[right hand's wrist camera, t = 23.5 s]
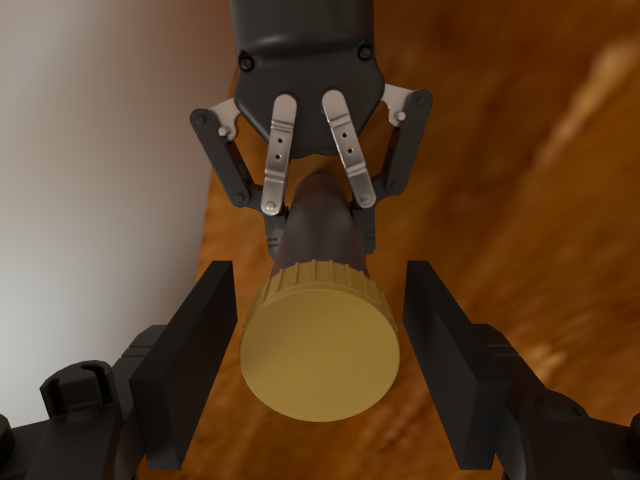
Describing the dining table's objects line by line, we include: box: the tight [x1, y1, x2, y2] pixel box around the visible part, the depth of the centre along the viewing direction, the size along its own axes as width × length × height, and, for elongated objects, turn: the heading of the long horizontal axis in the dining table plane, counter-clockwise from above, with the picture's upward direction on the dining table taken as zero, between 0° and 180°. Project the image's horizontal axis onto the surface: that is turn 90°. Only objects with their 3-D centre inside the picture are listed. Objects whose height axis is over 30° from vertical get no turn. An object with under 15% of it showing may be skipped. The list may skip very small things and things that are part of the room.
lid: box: [239, 259, 400, 422], centre depth 11 cm, size 5×5×2 cm
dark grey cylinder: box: [270, 173, 370, 279], centre depth 20 cm, size 4×4×19 cm
